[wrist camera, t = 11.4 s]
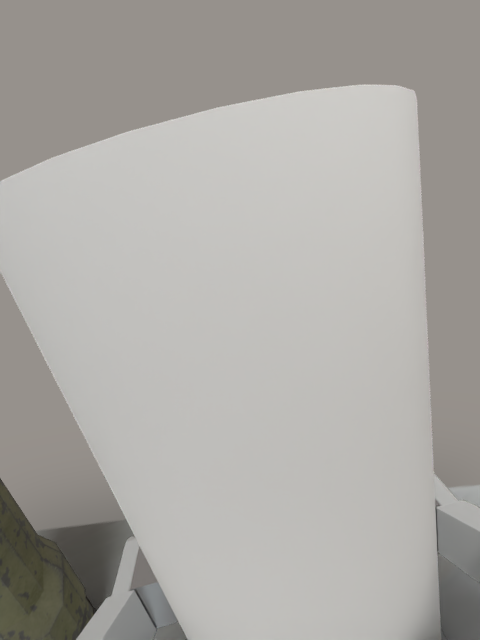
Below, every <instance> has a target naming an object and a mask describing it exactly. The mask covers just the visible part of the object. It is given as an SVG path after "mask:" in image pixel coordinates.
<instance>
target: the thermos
mask: <svg viewBox="0 0 480 640" xmlns="http://www.w3.org/2000/svg"><path fill="white" fill-rule="evenodd" d="M95 613H96V610H95V609H94V607H93V606H92V604H91V603H90V601H89V600H88V598H87V597H86V593H85V588H84V586H83V585H82V583H81V582H80V580H79V579H78V577H77V576H76V574H75V572H74V571H73V569H72V568H71V566H70V565H69V563H68V561H67V560H66V558H65V557H64V555H63V554H62V552H61V551H60V549H59V548H58V546H57V545H56V543H55V542H53V541H51V540H48V539H46V538H44V537H42V536H39V535H37V533H36V532H35V530H34V529H33V527H32V526H31V524H30V523H29V521H28V520H27V518H26V517H25V515H24V514H23V512H22V510H21V509H20V507H19V506H18V504H17V503H16V501H15V500H14V498H13V497H12V496H11V494H10V492H9V491H8V489H7V488H6V487H5V485H4V483H3V482H2V480H1V479H0V640H76V639H77V638H78V636H79V635H80V633H81V632H82V631H83V629H84V628H85V626H86V625H87V624H88V622H89V621H90V620H91V618H92V617H93V615H94V614H95Z"/></svg>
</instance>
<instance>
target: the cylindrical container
mask: <svg viewBox="0 0 480 640" xmlns="http://www.w3.org/2000/svg"><path fill="white" fill-rule="evenodd" d="M424 267H425V266H424V244H423V223H422V201H421V178H420V155H419V133H418V113H417V98H416V95H415V92H414V91H413V90H410V89H407V88H404V87H401V86H398V85H354V86H345V87H335V88H326V89H318V90H308V91H299V92H294V93H289V94H284V95H279V96H274V97H269V98H264V99H259V100H254V101H249V102H244V103H239V104H233V105H228V106H223V107H218V108H214V109H210V110H206V111H203V112H199V113H195V114H192V115H188V116H184V117H180V118H177V119H173V120H169V121H166V122H162V123H158V124H154V125H151V126H147V127H143V128H140V129H136V130H132V131H128V132H125V133H122V134H120V135H116V136H114V137H111V138H108V139H105V140H102V141H99V142H96V143H93V144H90V145H88V146H84V147H82V148H79V149H76V150H73V151H70V152H67V153H64V154H61V155H58V156H55V157H53V158H50V159H48V160H46V161H44V162H41V163H39V164H37V165H35V166H33V167H30V168H28V169H26V170H23V171H21V172H19V173H17V174H15V175H12V176H10V177H8V178H6V179H3V180H2V181H0V272H1V274H2V276H3V278H4V280H5V282H6V284H7V286H8V288H9V290H10V292H11V294H12V296H13V298H14V300H15V302H16V304H17V306H18V307H19V309H20V311H21V313H22V315H23V317H24V319H25V321H26V323H27V325H28V327H29V329H30V331H31V333H32V335H33V337H34V339H35V341H36V343H37V345H38V347H39V349H40V351H41V353H42V355H43V357H44V358H45V360H46V363H47V365H48V367H49V368H50V370H51V372H52V374H53V376H54V378H55V380H56V382H57V384H58V386H59V388H60V390H61V392H62V394H63V396H64V398H65V400H66V402H67V404H68V406H69V408H70V410H71V412H72V414H73V416H74V418H75V420H76V422H77V424H78V426H79V427H80V430H81V432H82V433H83V435H84V437H85V439H86V441H87V443H88V445H89V447H90V449H91V451H92V453H93V455H94V457H95V459H96V461H97V463H98V465H99V467H100V469H101V470H102V473H103V475H104V477H105V479H106V481H107V483H108V484H109V487H110V489H111V491H112V493H113V494H114V496H115V498H116V500H117V502H118V504H119V506H120V508H121V510H122V512H123V514H124V516H125V518H126V520H127V522H128V524H129V526H130V528H131V530H132V532H133V534H134V536H135V538H136V540H137V542H138V544H139V546H140V548H141V550H142V552H143V553H144V555H145V557H146V559H147V561H148V563H149V565H150V567H151V569H152V571H153V573H154V575H155V577H156V579H157V581H158V583H159V585H160V587H161V589H162V591H163V592H164V594H165V596H166V598H167V600H168V602H169V604H170V606H171V608H172V610H173V612H174V614H175V616H176V618H177V620H178V622H179V624H180V626H181V628H182V630H183V631H184V633H185V635H186V637H187V639H188V640H441V621H440V599H439V577H438V555H437V533H436V510H435V488H434V467H433V445H432V422H431V399H430V378H429V356H428V335H427V334H428V333H427V311H426V290H425V268H424Z"/></svg>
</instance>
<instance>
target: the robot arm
mask: <svg viewBox="0 0 480 640" xmlns="http://www.w3.org/2000/svg"><path fill="white" fill-rule="evenodd" d="M434 488H435V510H436V533H437V551H439V554H441V555H442V556H443V557H445V558H446V559H447V560H449V561H450V562H451V563H453V564H454V565H455V566H457V567H458V568H459V569H461V570H462V571H464V572H465V573H466V574H468V575H469V576H470V577H472V578H473V579H474V580H476V581H477V582H478V583H480V507H478V506H476V505H473V504H471V503H469V502H467V501H465V500H460V501H459V500H458V499H457V498H456V497H455V496H454V495H453V494H452V493H451V491H450V490H449V489H448V488H447V487H446V486H445V485H444V484H443V482H442V481H441V480H440V479H439V478H438V477H437V476H436V475H435V473H434ZM177 622H178V620H177V618H176V616H175V614H174V612H173V610H172V608H171V606H170V604H169V602H168V600H167V598H166V596H165V594H164V592H163V591H162V589H161V587H160V585H159V583H158V581H157V579H156V577H155V575H154V573H153V571H152V569H151V567H150V565H149V563H148V561H147V559H146V557H145V555H144V553H143V552H142V550H141V548H140V546H139V544H138V542H137V540H136V538H135V536H133V537H129V538H128V540H127V541H126V543H125V546H124V550H123V554H122V557H121V561H120V565H119V569H118V573H117V576H116V580H115V584H114V588H113V591H112V595H111V596H109V597H106V599H105V600H104V602H103V603H102V604H101V606H100V607H99V609H98V610H97V611H96V613H95V614H94V615H93V617H92V618H91V620H90V621H89V622H88V624H87V625H86V626H85V628H84V629H83V631H82V632H81V633H80V635H79V636H78V638H77V639H76V640H153V638H154V636H155V634H156V632H157V630H156V629H157V628H160V627H164V626H167V625H170V624H173V623H177Z"/></svg>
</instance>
